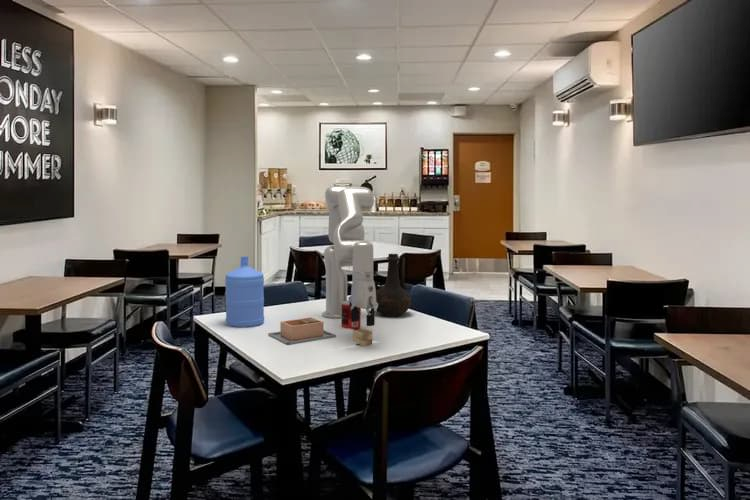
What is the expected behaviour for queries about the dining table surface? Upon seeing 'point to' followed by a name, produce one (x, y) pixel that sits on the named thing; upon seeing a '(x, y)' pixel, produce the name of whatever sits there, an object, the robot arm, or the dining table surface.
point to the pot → (301, 329)
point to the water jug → (244, 296)
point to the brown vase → (392, 292)
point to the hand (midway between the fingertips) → (362, 323)
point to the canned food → (349, 317)
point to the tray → (278, 337)
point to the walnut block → (307, 321)
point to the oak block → (362, 337)
